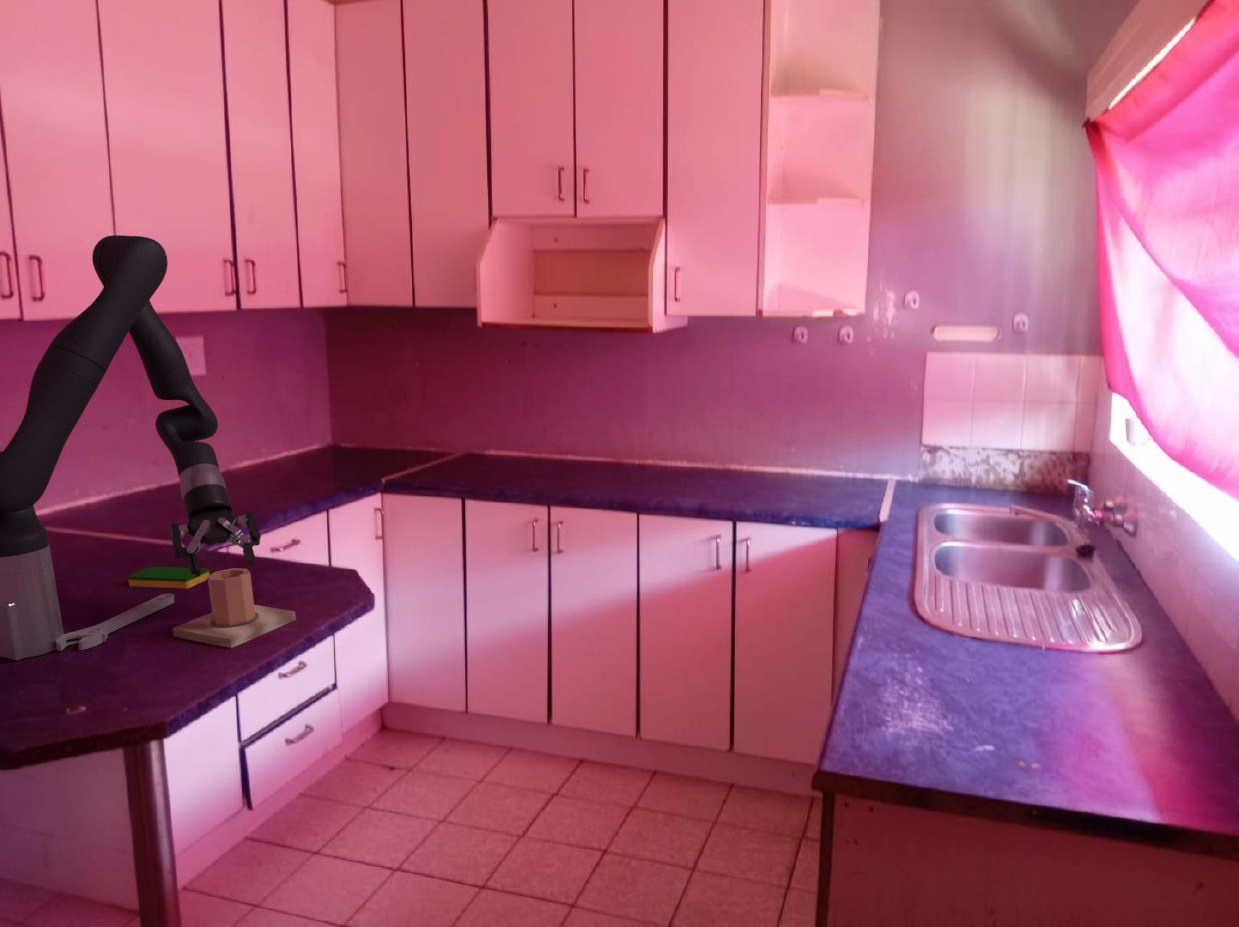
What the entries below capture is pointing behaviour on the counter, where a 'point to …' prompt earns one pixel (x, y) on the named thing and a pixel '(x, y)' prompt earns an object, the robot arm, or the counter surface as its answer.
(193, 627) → the post stand
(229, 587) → the collar
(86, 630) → the adjustable wrench
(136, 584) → the dish sponge
